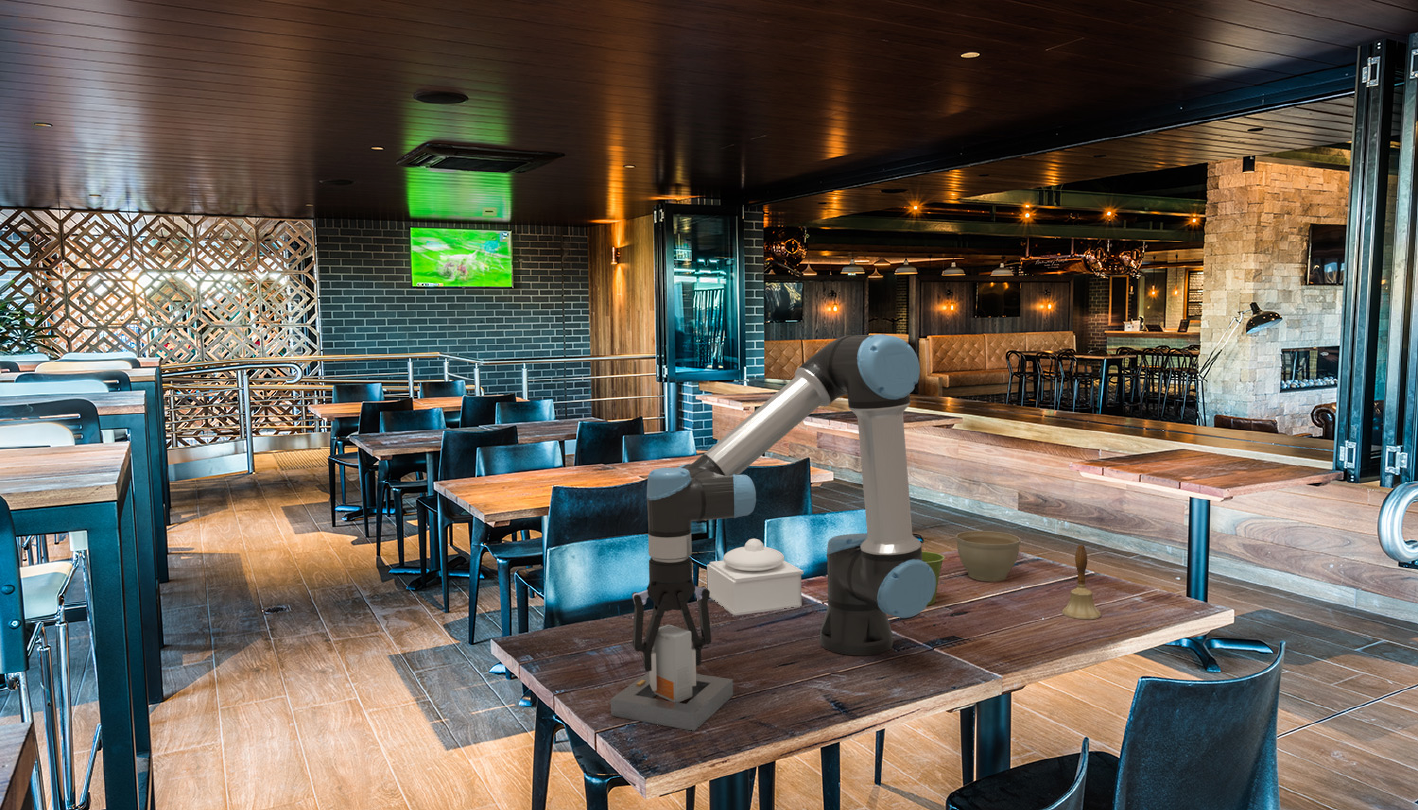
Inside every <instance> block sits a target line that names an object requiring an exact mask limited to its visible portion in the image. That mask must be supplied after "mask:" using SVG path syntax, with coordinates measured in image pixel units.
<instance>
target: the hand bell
mask: <svg viewBox="0 0 1418 810" xmlns="http://www.w3.org/2000/svg"><path fill="white" fill-rule="evenodd" d="M1074 557H1075V558H1074V560H1075V561H1074V563H1075V568H1076V570H1077V578H1076V579H1077V581H1076V582H1077V585H1076V587H1075V588H1073V589H1071V591H1070V597H1069V601H1068V604H1067V605H1066V606H1065V607H1064V608H1063V609H1062V611H1061V613H1062V615H1063V616H1066V617H1068V618H1071V619H1076V620H1083V621H1084V620H1097V619H1099V618H1101V617H1102V613H1101V611H1100V610H1099V609H1098V608H1097V607H1096V605H1095V602H1094V598H1093V592H1092V591H1091V590H1090V589H1088V588H1087V587H1086V570H1087V567H1088V553H1087V551H1086V547H1085V545H1084V544H1078V545H1077V549H1076V552H1075V555H1074Z"/></svg>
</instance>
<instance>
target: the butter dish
mask: <svg viewBox="0 0 1418 810" xmlns="http://www.w3.org/2000/svg"><path fill="white" fill-rule="evenodd" d="M706 566H707V567H706V573H707V574H706V577H707V579H706V580H707V589H708V590H709V591H710V595H709V599H711V600H712V601H714V600H715V601H714V602H715V603H717V602H718V603H717V604H718V605H719V606H720V607H722V606H723V607H724V608H723V607H722V608H723V609H725V610H726V611H727V612H728V613H730V614H731V615H732V616H742V615H749V614H755V613H765V612H771V611H778V610H779V609H780V610H785V609H784V608H787V609H792V608H791V607H794V608H800V606H802V605H803V603H802V602H803V601H802V575H804V570H802V569H801V568H799V567H797V566H796V565H793V564H792V563H790V562H788V561H786V560H785V556H784V554H783V553H782V552H780V551H779V550H777V549H774V548H772V547H767V546H765V545H764V543H763V542H762V541H761V540H760V539H757V538H750V539H748V540H747V541H746V542H745V544H744V546H741V547H736V548H733V549H731V550H729V551H727V552H726V553H725V554H724V555H723V558H722V560H714V561H709V564H707V565H706ZM780 610H779V611H780Z"/></svg>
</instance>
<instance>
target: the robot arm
mask: <svg viewBox="0 0 1418 810" xmlns="http://www.w3.org/2000/svg"><path fill="white" fill-rule="evenodd" d="M920 369H921V368H920V362H919V359H918V356H917V353H916V352H915V350H914V348H913V347H912V346H911V345H910V344H909V343H908V342H907V341H906V340H904V339H902V338H900V337H898V336H895V335H888V334H885V333H883V334H881V333H880V334H878V333H877V334H868V335H867V334H865V335H864V334H863V335H861V334H860V335H858V334H849V335H845V336H841V337H838V338H837V339H834V340H832V341H831V342H830V343H828V344H826V345H825V346H823V347H822V348H821V349H819V350H818V351H817V352H815V353H814V354H813V355H812V356H811V357H810V358H808V359H807V360H806V361H805V362H804V363H802V364H801V365H799V367H797V369H795V372H794V377H793V378H792V379H791V380H790V381H789V382H788V383H787V384H785V385H784V386H783V387H782V388H781V389H779V390H778V391H777V392H776V393H774V394H773V395H772V396H771V397H770V398H769V399H767V400H766V401H765V402H764V403H763V404H761V406H759V407H758V408H756V409H755V410H754V411H753V412H752V413H750V415H748V416H747V417H746V418H745V419H743V421H741V422H740V423H739V424H737V426H736V427H734V428H733V429H732V430H731V431H729V432H728V433H726V435H724V436H723V438H721V439H720V440H719V441H717V443H715V444H714V445H713V446H711V448H710V449H708V450H707V451H706V452H704V454H701V456H699V457H698V458H697V459H696V460H694V461H693V462H692V463H688V464H681V465H679V466H678V467H661V468H656V469H653V470H651V471H650V472H649V473H648V474H647V485H646V501H647V502H646V503H647V505H646V506H647V522H648V523H647V524H648V529H647V531H648V535H647V536H648V555H649V557H650V558H649V560H648V579H649V580H648V585H647V587H646V589H645V590H643V591H640V592H637V591H633V592H632V593H631V597H632V600H633V604H634V611H633V612H634V613H633V626H632V627H633V628H632V643H631V644H632V646H633V649H634V650H635V652H641V653H642V659H643V660H642V661H643V663H642V664H643V665H642V666H643V668H644V670H645V672H649V675H650V687H651V689H652V691H656V690H657V678H656V653H655V651H654V650H653V645H654V642H655V639H656V635H657V632H658V629H659V627H661V626H660V625H661V622H662V619H663V617H664V615H665V612H669V611H672V610H675V611H680V612H681V616H682V619H683V621H684V624H685V627H686V630H688V631H691V644H692V686H696V674H697V666H701V664H702V649H703V647H704V646H705V645H710V644H711V643H712V634H711V633H712V632H711V623H710V614H709V605H708V602H709V599H710V597H709V595H710V591H709V590H708V587H706V586H705V585H701V586H697V585H695V584H694V582H693V564H692V563H693V561H692V558H691V557H690V556H692V554H693V552H692V522H701V521H709V520H711V521H712V520H719V519H721V520H722V519H732V518H733V519H736V518H739V517H740V518H741V517H745V516H749V515H750V514H752V513H753V512H754V510H755V508H756V502H757V492H756V486H755V483H754V481H753V480H752V478H751V477H750V476H748V475H747V474H742V473H743V472H744V471H745V470H747V468H749V467H750V466H751V465H752V464H754V462H756V461H757V460H758V459H759V458H760V457H762V455H764V454H765V453H766V452H768V451H769V450H770V449H771V448H772V447H773V446H775V445H776V444H777V443H778V442H779V441H780V440H781V439H782V438H784V437H785V436H786V435H787V434H788V433H790V432H791V431H792V430H793V429H794V428H796V427H797V426H798V425H799V424H800V423H802V421H804V420H805V419H806V418H807V417H809V415H811V414H812V413H813V412H814V411H815V410H816V409H818V408H819V407H828V406H829V405H831V403H833V402H834V401H835V400H837V399H838V398H841V397H844V396H846V395H847V403H848V405H847V406H848V409H849V411H851V412H852V413H853V414H854V415H855V416H856V418H857V425H858V428H857V429H858V440H859V451H860V462H861V463H860V465H861V475H862V486H863V487H862V488H863V498H864V499H863V501H864V508H865V509H864V510H865V511H864V512H865V524H866V525H865V526H866V533H850V534H849V533H848V534H840V535H834V536H833V537H831V538H829V540H828V542H827V547H826V557H827V558H826V559H827V563H826V564H827V571H826V572H827V608H826V612H825V615H824V618H823V620H822V624H821V626H820V630H819V643H820V645H821V646H822V647H823V649H826V650H828V651H830V652H833V653H837V654H842V655H848V656H849V655H850V656H871V655H877V654H882V653H885V652H887V651H889V650H891V648H893V645H894V635H893V631H892V627H891V624H890V622H889V619H888V616H894V617H896V618H900V619H906V618H907V619H908V618H911V617H914V616H917V615H919V614H921V613H922V612H923V611H924V610H926V608H927V606H926V605H927V604H928V603H929V602H930V601H931V599H932V597H933V595H934V592H935V587H936V578H935V574H934V572H933V570H932V568H931V567H930V566H929V565H928V564H927V563H926V562H924V561H922V551H923V550H922V543H921V541H920V540H919V539H918V538H917V537H916V536H914V535H913V527H912V525H913V524H912V512H911V500H910V497H911V496H910V488H909V487H910V486H909V475H908V473H909V472H908V460H907V449H906V436H905V424H904V412H905V410H906V409H907V408H908V407H909V406H910V405H911V395H910V393H912V392H913V391H914V390H915V388H916V387H915V385H916V384H918V382H919V379H920V372H921V371H920ZM694 594H695V598H696V600H697V604H698V605H697V606H698V614H699V615H698V616H699V625H700V635H701V636H699V633H698V631H697V628H696V626H695V623H694V620H693V617H692V615H691V611H690V608H689V605H688V602H689V600H690V599H691V598H692V597H693V595H694ZM648 598H650V599H651V601H652V602H653V604H654V605H653V608H652V615H651V617H650V621H649V623H648V627H647V631H646V633H645V635H644V636H645V637H644V640H643V631H644V629H643V628H644V611H645V609H644V605H646V603H647V599H648ZM887 615H888V616H887Z"/></svg>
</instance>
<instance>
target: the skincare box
mask: <svg viewBox="0 0 1418 810" xmlns="http://www.w3.org/2000/svg"><path fill="white" fill-rule="evenodd" d="M692 646H693V644H692V641H691V631H688V630H687V629H685V628H682V627H681V626H675V625H673V624H671V623H670V624H666V625H662V626H659V629H658V632H657V635H656V639H655V642H654V645H653V650H654V651H655V653H656V678H657V690H656V691H654V694H655V695H656V696H658V697H659V698H660V697H661V698H663V699H664V700H666V701H672V702H678V703H682V702H683V701H685V700H689V699H690V698H691V699H692V698H693V696H692Z"/></svg>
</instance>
